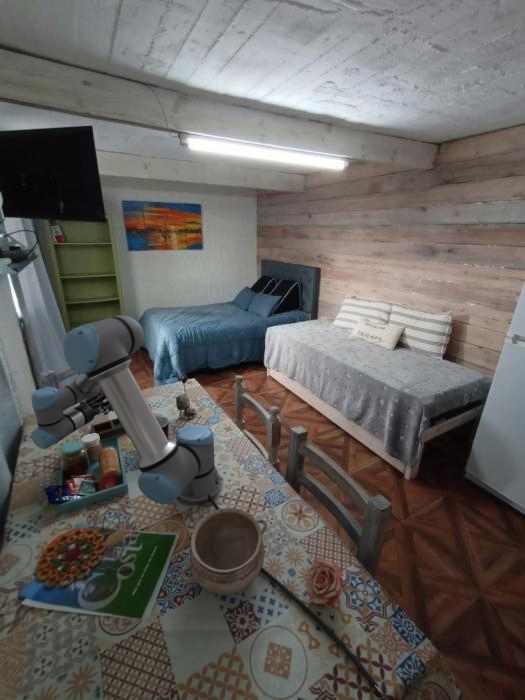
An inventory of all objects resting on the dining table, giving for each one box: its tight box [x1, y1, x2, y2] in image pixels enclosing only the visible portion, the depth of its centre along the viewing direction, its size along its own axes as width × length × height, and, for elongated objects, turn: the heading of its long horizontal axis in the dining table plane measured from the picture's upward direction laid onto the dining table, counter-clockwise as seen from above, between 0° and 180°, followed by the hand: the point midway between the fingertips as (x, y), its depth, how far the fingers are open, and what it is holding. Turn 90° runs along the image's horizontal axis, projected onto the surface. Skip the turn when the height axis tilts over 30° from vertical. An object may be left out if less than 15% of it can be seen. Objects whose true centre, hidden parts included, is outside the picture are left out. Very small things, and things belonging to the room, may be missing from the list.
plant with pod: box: [175, 374, 198, 421], centre depth 147 cm, size 8×11×20 cm
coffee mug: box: [155, 415, 170, 440], centre depth 131 cm, size 12×9×10 cm
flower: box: [306, 557, 344, 609], centre depth 77 cm, size 10×9×8 cm
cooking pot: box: [179, 507, 268, 596], centre depth 81 cm, size 25×19×12 cm
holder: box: [90, 417, 126, 441], centre depth 138 cm, size 8×16×3 cm, turn 124°
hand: (124, 389), depth 137 cm, fingers closed on soda can, 5 cm apart
